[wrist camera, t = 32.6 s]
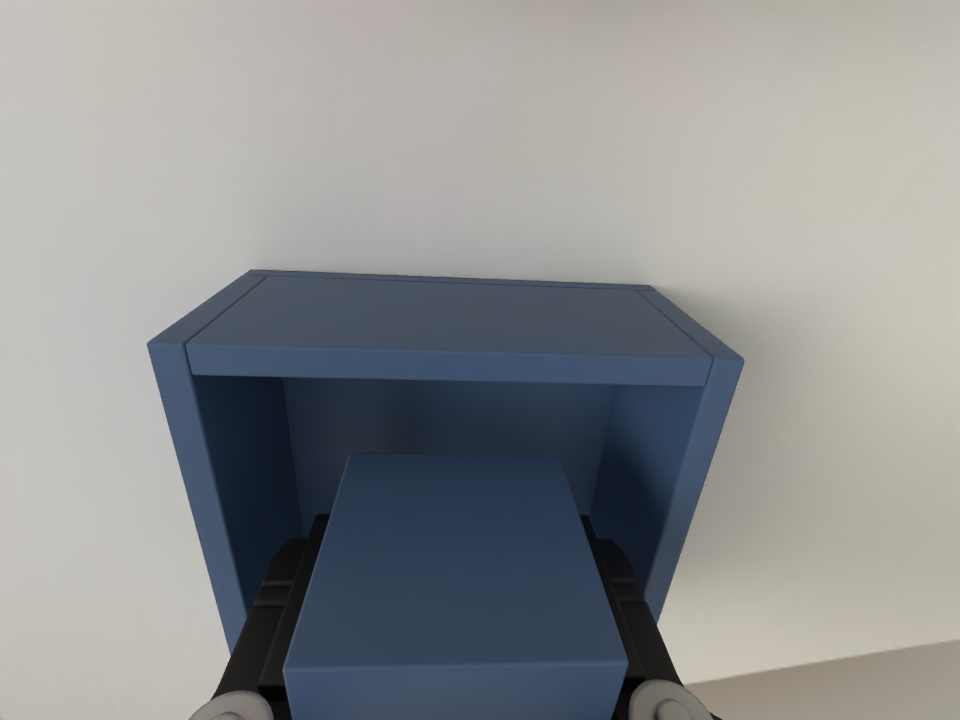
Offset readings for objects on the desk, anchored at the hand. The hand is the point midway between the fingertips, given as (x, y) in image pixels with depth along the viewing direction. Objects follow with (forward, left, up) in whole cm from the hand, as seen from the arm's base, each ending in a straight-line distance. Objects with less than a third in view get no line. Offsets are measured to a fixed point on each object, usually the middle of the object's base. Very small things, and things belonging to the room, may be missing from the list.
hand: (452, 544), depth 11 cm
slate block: (0, 0, 0) cm, 0 cm away
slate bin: (0, 0, -4) cm, 4 cm away
